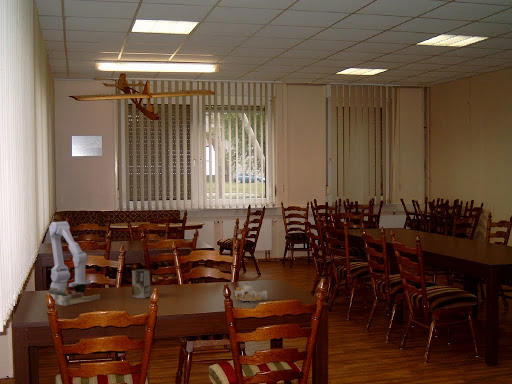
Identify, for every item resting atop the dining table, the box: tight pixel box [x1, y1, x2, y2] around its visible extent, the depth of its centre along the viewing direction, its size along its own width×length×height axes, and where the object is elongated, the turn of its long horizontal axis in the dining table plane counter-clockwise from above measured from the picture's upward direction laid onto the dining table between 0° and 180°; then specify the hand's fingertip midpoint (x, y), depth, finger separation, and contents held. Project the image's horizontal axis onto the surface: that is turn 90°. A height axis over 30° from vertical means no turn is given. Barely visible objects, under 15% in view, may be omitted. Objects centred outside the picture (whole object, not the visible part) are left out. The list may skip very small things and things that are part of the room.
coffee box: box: [131, 268, 151, 299], centre depth 403 cm, size 9×6×16 cm
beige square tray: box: [67, 290, 84, 300], centre depth 386 cm, size 9×9×4 cm
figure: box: [233, 285, 268, 302], centre depth 395 cm, size 17×18×9 cm
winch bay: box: [46, 285, 101, 307], centre depth 388 cm, size 16×25×11 cm, turn 146°
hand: (80, 297), depth 392 cm, fingers closed
